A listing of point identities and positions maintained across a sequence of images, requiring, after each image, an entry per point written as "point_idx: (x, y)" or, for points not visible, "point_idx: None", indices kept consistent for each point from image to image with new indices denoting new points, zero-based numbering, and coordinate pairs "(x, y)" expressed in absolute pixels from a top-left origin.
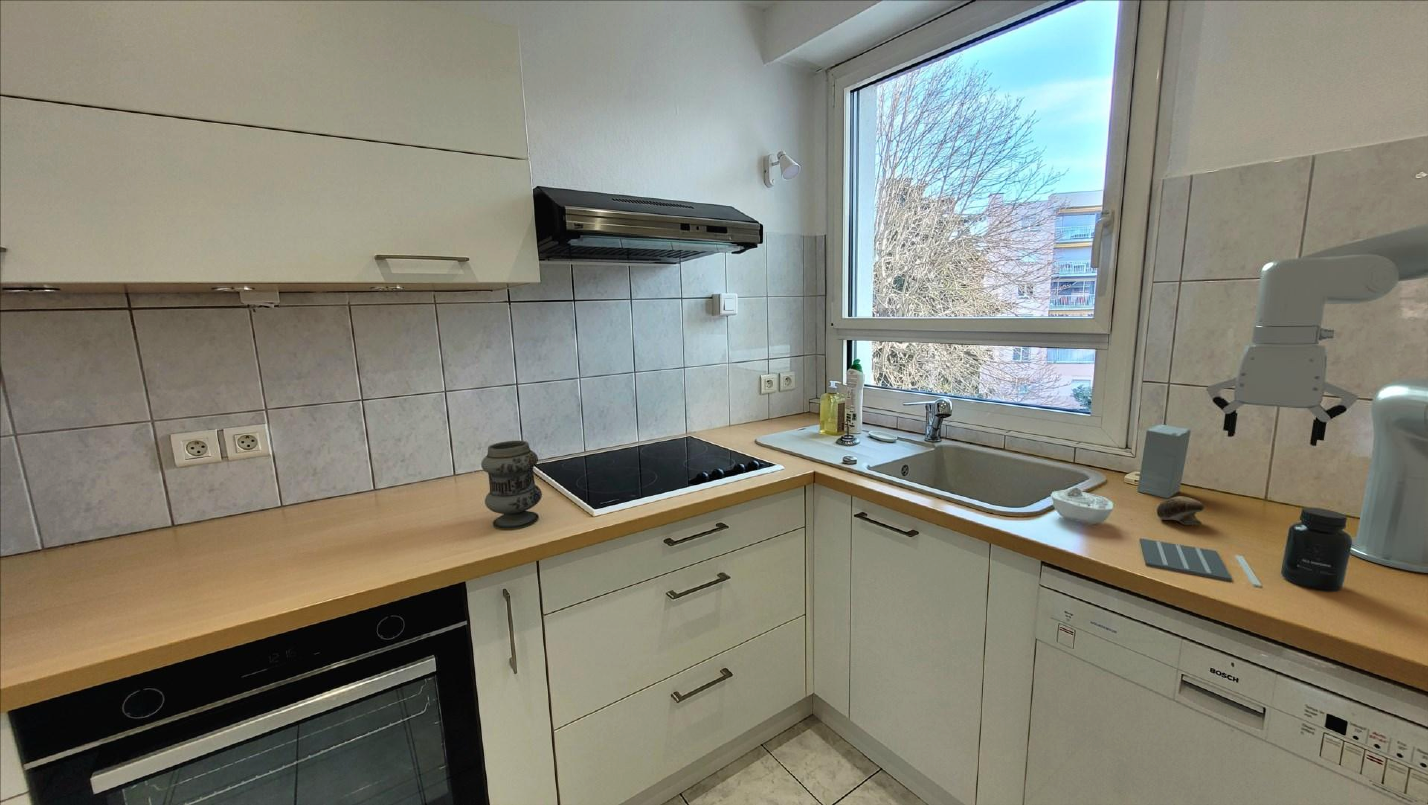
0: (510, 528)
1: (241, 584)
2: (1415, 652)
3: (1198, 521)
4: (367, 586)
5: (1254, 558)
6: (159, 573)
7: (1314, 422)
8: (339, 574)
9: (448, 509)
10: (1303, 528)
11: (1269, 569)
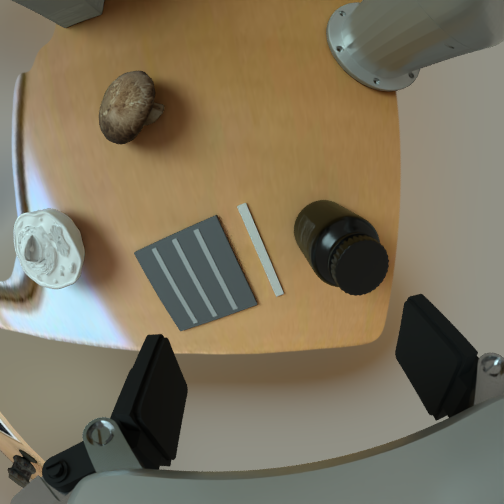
0: (36, 462)
1: None
2: (383, 327)
3: (160, 115)
4: None
5: (257, 189)
6: None
7: (433, 414)
8: None
9: None
10: (331, 279)
11: (279, 220)
